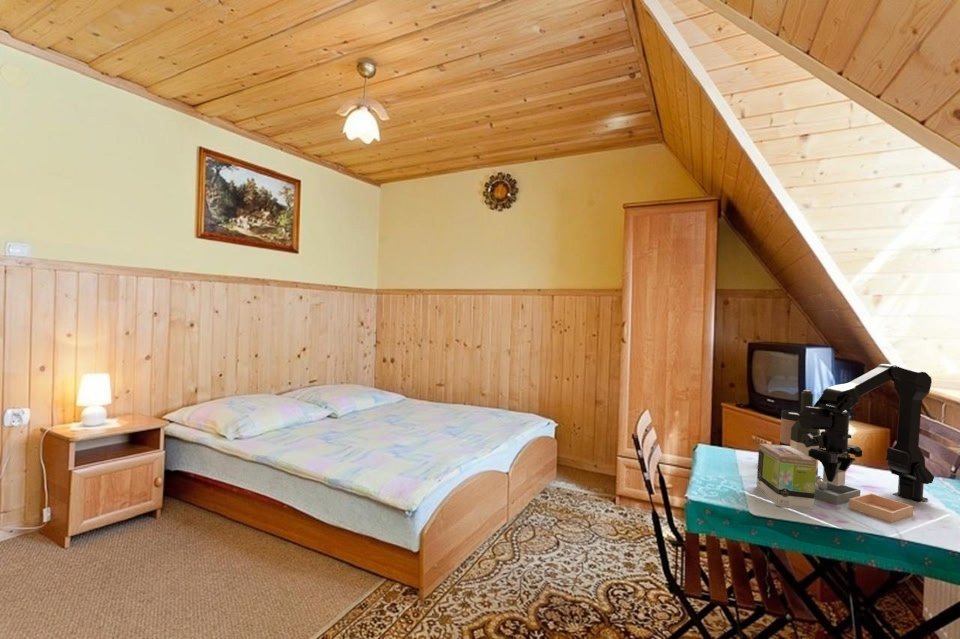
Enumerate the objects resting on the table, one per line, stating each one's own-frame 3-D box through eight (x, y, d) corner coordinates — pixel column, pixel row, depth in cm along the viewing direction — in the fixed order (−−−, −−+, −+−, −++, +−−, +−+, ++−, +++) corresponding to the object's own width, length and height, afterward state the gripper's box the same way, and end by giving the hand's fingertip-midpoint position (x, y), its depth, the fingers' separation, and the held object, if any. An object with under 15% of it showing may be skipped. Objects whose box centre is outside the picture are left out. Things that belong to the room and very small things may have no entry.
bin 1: (785, 475, 160) (786, 465, 160) (859, 499, 140) (860, 488, 140) (762, 480, 154) (763, 470, 154) (836, 506, 134) (837, 494, 134)
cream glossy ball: (818, 487, 148) (818, 477, 148) (829, 490, 146) (829, 480, 146) (812, 488, 147) (813, 478, 147) (823, 492, 144) (824, 482, 144)
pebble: (809, 489, 146) (809, 479, 146) (820, 493, 143) (821, 482, 143) (803, 490, 145) (804, 480, 145) (814, 494, 142) (815, 484, 142)
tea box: (815, 511, 130) (818, 459, 130) (776, 507, 132) (779, 456, 132) (790, 491, 145) (792, 444, 145) (755, 488, 147) (757, 441, 147)
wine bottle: (785, 471, 164) (790, 387, 164) (813, 475, 161) (818, 390, 161) (791, 479, 157) (796, 391, 156) (821, 483, 154) (826, 393, 153)
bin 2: (869, 502, 138) (870, 493, 138) (912, 516, 129) (913, 506, 129) (848, 509, 133) (849, 498, 133) (891, 524, 124) (892, 513, 124)
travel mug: (779, 461, 176) (782, 409, 176) (804, 466, 172) (807, 412, 171) (777, 466, 170) (780, 412, 170) (802, 471, 166) (805, 415, 165)
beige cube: (829, 479, 144) (830, 467, 144) (844, 484, 140) (845, 471, 140) (822, 481, 142) (823, 468, 142) (837, 486, 138) (838, 472, 138)
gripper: (823, 421, 152) (821, 468, 152) (790, 425, 144) (788, 475, 144) (864, 429, 142) (861, 480, 142) (831, 434, 134) (828, 488, 134)
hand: (833, 480), depth 141 cm, fingers closed on beige cube, 4 cm apart
